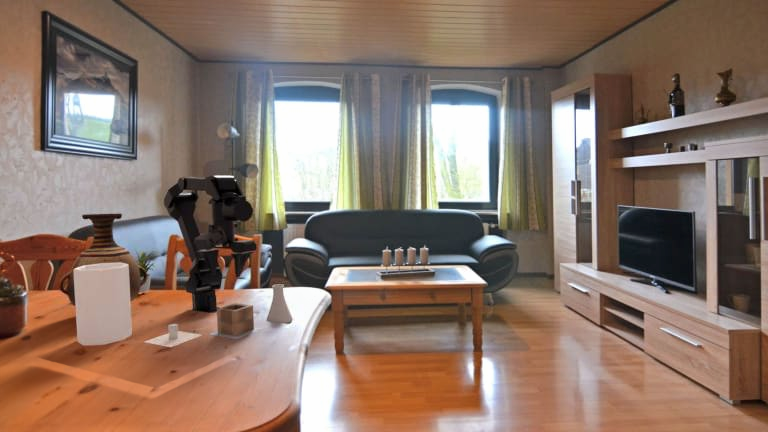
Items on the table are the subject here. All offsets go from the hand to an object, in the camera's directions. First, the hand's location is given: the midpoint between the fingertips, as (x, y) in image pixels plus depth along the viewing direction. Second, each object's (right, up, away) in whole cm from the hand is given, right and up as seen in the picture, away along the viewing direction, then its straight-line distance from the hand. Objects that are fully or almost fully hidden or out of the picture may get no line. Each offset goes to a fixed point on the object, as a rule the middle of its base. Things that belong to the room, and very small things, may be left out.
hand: (225, 275), depth 127 cm
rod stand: (-5, -13, -20) cm, 25 cm away
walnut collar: (+8, -12, -15) cm, 21 cm away
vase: (-37, -13, +6) cm, 40 cm away
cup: (-22, -14, -18) cm, 32 cm away
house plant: (-41, -11, +35) cm, 55 cm away
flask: (+16, -12, -3) cm, 20 cm away
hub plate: (+8, -13, -15) cm, 21 cm away
